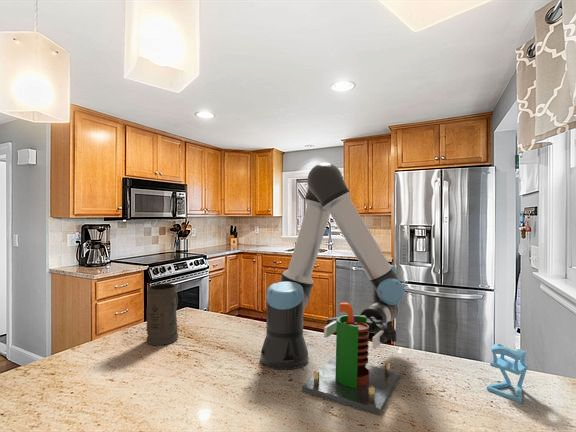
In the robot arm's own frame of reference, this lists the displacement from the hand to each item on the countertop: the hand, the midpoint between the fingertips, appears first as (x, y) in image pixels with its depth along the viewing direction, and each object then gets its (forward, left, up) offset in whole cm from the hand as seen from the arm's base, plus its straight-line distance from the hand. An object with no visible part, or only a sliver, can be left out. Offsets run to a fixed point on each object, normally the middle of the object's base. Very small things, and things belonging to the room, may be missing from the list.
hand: (348, 337), depth 85 cm
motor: (0, +3, -12) cm, 13 cm away
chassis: (0, +3, -13) cm, 14 cm away
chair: (+36, +21, -14) cm, 44 cm away
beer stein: (-71, -1, -14) cm, 72 cm away
